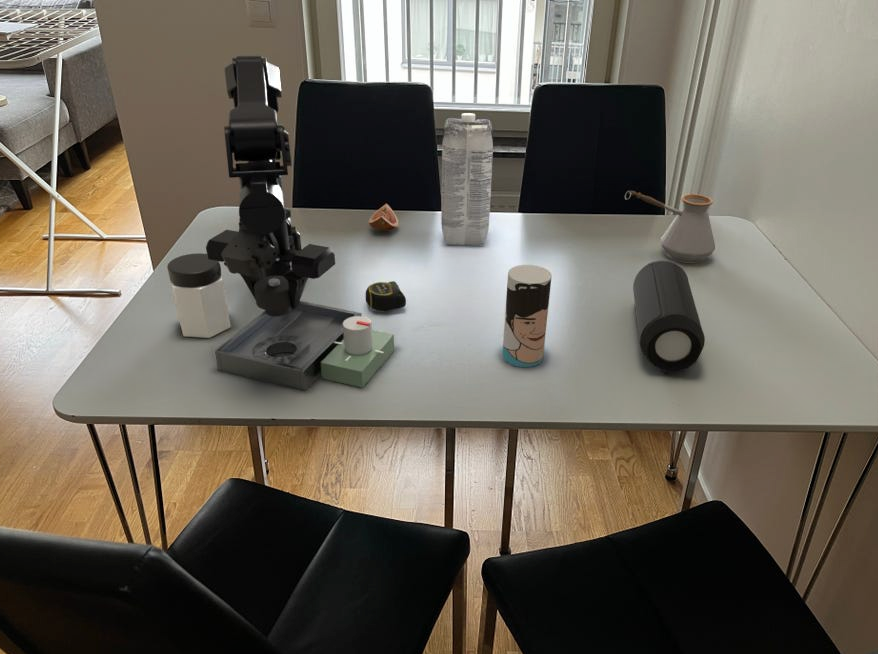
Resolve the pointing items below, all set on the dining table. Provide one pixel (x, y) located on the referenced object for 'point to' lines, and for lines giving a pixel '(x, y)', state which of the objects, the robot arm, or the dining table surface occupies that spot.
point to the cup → (526, 315)
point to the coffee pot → (686, 228)
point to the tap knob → (357, 335)
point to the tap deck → (357, 361)
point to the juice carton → (466, 180)
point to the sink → (291, 337)
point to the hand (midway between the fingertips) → (276, 304)
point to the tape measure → (385, 296)
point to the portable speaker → (667, 317)
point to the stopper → (273, 295)
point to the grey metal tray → (274, 370)
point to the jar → (199, 295)
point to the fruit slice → (384, 219)
